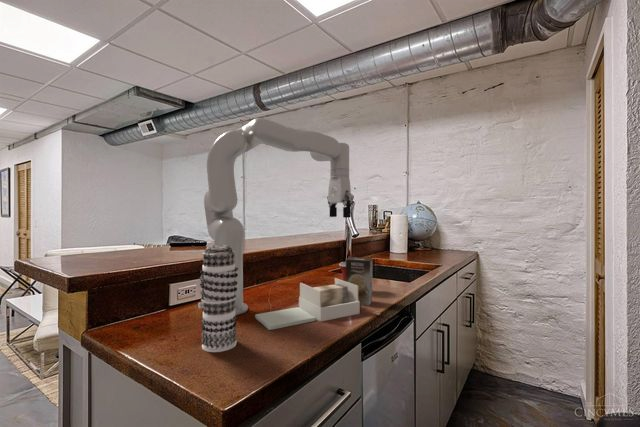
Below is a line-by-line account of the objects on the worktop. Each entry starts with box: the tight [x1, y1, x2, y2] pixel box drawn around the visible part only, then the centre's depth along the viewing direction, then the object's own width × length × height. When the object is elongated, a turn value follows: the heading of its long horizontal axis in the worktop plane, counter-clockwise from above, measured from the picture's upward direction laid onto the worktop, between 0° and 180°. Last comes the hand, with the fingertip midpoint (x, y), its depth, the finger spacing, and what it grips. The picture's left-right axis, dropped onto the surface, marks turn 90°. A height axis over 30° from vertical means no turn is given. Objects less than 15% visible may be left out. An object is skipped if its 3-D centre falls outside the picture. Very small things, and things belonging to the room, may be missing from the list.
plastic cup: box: [338, 261, 346, 281], centre depth 135 cm, size 11×11×12 cm
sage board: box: [254, 306, 316, 331], centre depth 101 cm, size 15×12×1 cm
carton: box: [298, 277, 361, 322], centre depth 109 cm, size 15×15×9 cm
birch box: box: [312, 283, 348, 308], centre depth 109 cm, size 12×5×8 cm, turn 120°
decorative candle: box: [199, 245, 238, 353], centre depth 82 cm, size 9×9×25 cm
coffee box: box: [345, 256, 374, 307], centre depth 119 cm, size 9×6×16 cm
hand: (339, 217), depth 130 cm, fingers open, 9 cm apart
